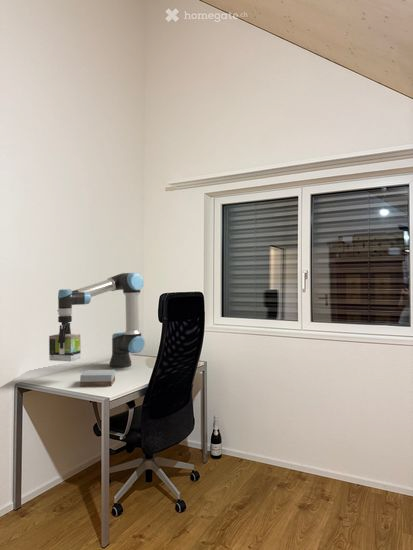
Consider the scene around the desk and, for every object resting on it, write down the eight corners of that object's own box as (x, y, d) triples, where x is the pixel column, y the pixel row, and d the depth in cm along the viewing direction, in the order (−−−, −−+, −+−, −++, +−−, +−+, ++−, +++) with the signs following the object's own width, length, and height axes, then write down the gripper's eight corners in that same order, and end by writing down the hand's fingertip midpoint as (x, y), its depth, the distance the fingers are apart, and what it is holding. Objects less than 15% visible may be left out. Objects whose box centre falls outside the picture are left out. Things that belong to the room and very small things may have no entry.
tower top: (85, 376, 234) (85, 370, 234) (115, 375, 236) (115, 369, 236) (80, 381, 220) (80, 375, 220) (111, 381, 222) (111, 375, 222)
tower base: (85, 381, 234) (85, 375, 234) (115, 381, 236) (115, 375, 236) (80, 388, 220) (80, 381, 221) (111, 387, 222) (111, 381, 222)
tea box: (81, 358, 237) (81, 333, 237) (70, 362, 227) (70, 336, 227) (59, 357, 241) (59, 333, 241) (48, 360, 231) (48, 335, 231)
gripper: (64, 313, 246) (64, 348, 246) (52, 317, 222) (52, 356, 222) (76, 313, 247) (76, 348, 246) (66, 317, 223) (66, 355, 222)
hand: (65, 352), depth 234 cm, fingers closed on tea box, 12 cm apart
